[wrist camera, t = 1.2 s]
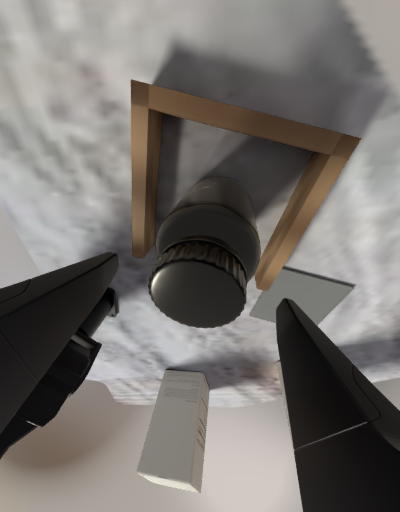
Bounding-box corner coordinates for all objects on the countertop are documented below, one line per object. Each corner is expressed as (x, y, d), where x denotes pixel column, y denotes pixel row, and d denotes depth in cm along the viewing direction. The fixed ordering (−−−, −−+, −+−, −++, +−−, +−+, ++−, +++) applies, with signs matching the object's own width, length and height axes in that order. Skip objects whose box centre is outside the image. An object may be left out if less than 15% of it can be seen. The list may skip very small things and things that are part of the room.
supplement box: (174, 387, 44) (151, 483, 32) (164, 368, 40) (133, 473, 27) (210, 390, 42) (201, 495, 30) (204, 371, 38) (191, 486, 25)
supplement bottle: (199, 161, 16) (145, 200, 6) (265, 195, 17) (312, 278, 7) (175, 224, 20) (117, 311, 10) (229, 250, 21) (226, 354, 11)
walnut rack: (263, 273, 22) (267, 291, 19) (144, 242, 22) (132, 255, 19) (338, 138, 14) (361, 138, 11) (149, 89, 14) (130, 79, 11)
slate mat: (309, 330, 26) (310, 332, 26) (249, 314, 26) (249, 315, 26) (352, 286, 21) (354, 288, 20) (277, 266, 21) (277, 268, 21)
